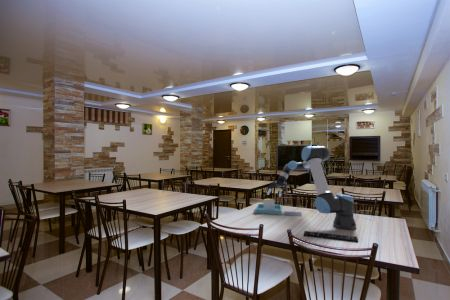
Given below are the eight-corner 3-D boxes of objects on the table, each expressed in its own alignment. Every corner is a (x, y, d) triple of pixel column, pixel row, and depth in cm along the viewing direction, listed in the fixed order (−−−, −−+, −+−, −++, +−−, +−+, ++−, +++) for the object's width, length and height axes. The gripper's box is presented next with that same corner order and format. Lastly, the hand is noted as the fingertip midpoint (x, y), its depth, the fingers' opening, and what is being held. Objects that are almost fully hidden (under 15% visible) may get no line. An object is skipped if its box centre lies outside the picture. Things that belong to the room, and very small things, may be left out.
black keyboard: (304, 233, 173) (304, 230, 173) (356, 239, 161) (356, 236, 161) (303, 236, 166) (303, 233, 166) (358, 243, 154) (358, 240, 154)
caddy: (268, 209, 234) (268, 198, 234) (274, 210, 229) (274, 199, 229) (263, 210, 229) (263, 199, 229) (269, 211, 224) (269, 200, 224)
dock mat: (301, 217, 210) (301, 216, 210) (284, 216, 213) (284, 215, 213) (301, 213, 223) (301, 212, 223) (284, 212, 227) (284, 211, 227)
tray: (281, 215, 216) (281, 210, 216) (255, 213, 221) (255, 209, 221) (281, 209, 237) (281, 205, 237) (258, 208, 242) (258, 203, 242)
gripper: (295, 181, 236) (286, 199, 226) (274, 179, 255) (264, 196, 245) (292, 176, 232) (282, 194, 223) (270, 174, 251) (261, 191, 241)
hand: (273, 195), depth 234 cm, fingers open, 13 cm apart
